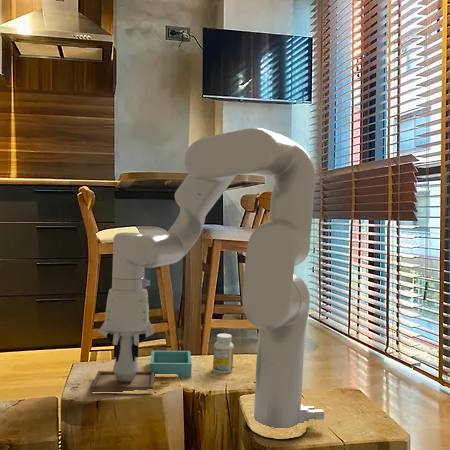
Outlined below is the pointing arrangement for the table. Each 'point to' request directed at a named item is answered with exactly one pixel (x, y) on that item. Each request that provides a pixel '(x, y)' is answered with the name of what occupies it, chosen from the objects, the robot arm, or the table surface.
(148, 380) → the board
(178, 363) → the collar
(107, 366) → the table surface
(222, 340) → the supplement bottle
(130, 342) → the salt shaker
